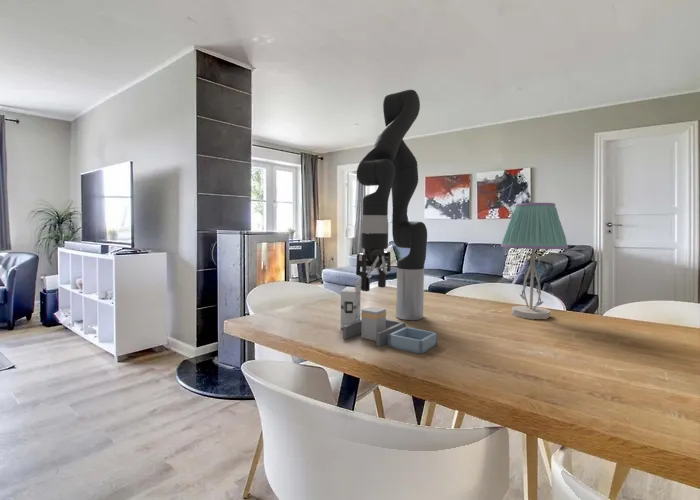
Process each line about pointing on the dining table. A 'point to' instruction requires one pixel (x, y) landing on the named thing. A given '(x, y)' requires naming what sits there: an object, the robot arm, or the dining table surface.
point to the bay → (380, 336)
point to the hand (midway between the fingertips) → (373, 289)
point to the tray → (412, 340)
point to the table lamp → (534, 246)
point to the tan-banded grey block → (372, 322)
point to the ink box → (350, 304)
